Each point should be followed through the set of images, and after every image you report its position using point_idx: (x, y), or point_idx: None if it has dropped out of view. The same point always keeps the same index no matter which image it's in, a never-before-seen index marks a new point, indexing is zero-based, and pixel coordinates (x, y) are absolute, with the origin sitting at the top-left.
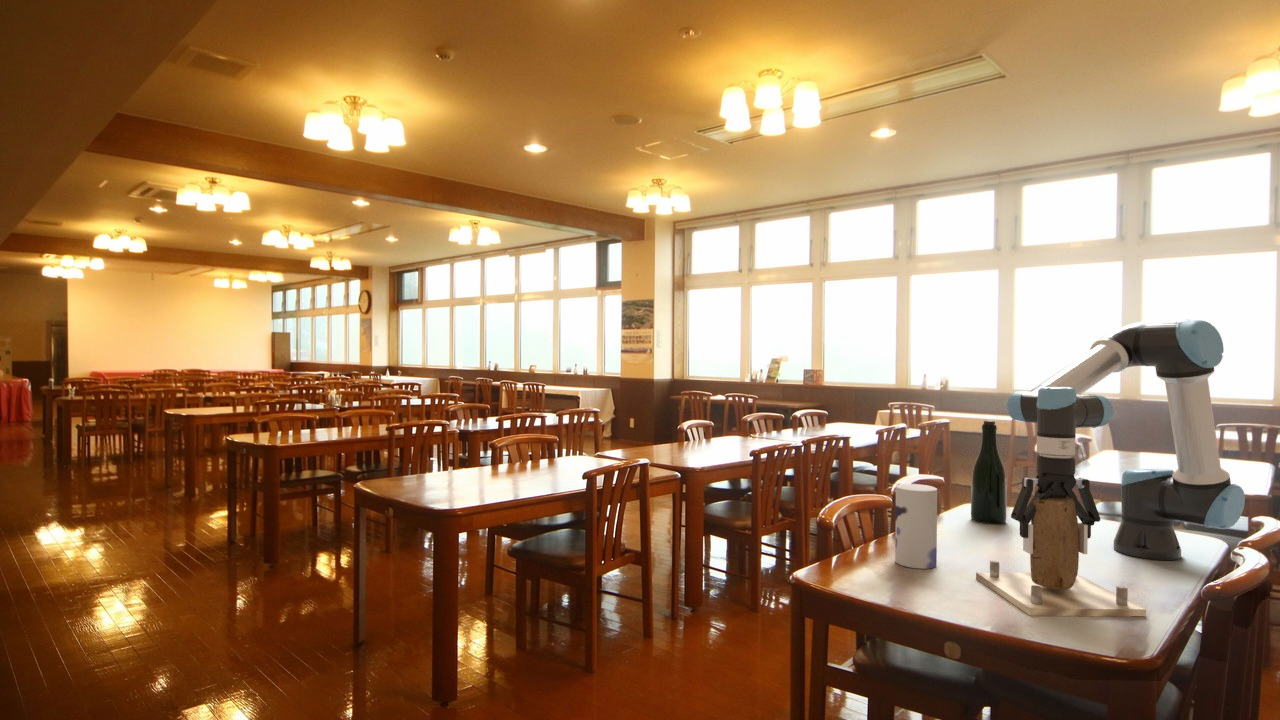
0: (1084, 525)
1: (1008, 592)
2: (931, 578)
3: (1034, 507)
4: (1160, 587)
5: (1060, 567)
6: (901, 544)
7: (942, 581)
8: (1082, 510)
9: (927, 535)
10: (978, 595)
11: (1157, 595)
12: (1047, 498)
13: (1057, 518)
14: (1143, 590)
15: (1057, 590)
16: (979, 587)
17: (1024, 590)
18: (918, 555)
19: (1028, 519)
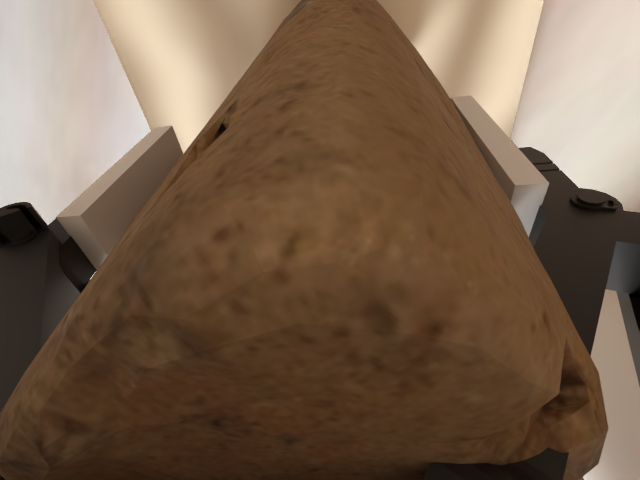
0: (80, 214)
1: (530, 16)
2: (625, 207)
3: (586, 323)
4: (7, 198)
5: None
6: None
7: (613, 185)
8: (4, 313)
9: (628, 356)
10: (606, 49)
11: (11, 131)
12: (443, 469)
13: (383, 49)
14: (48, 170)
15: None
16: (530, 141)
17: (443, 56)
18: (618, 301)
19: (581, 217)
